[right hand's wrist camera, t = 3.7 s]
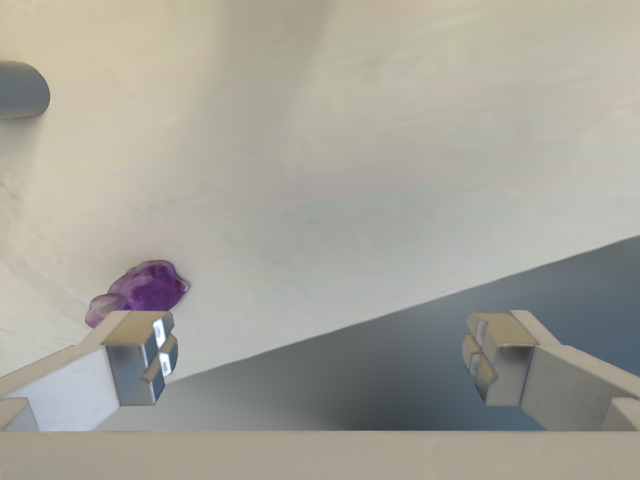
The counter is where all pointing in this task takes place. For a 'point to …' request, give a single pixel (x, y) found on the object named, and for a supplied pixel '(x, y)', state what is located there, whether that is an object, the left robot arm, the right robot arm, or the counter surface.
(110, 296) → the figurine
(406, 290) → the counter surface
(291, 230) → the counter surface
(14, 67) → the bottle
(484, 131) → the counter surface
